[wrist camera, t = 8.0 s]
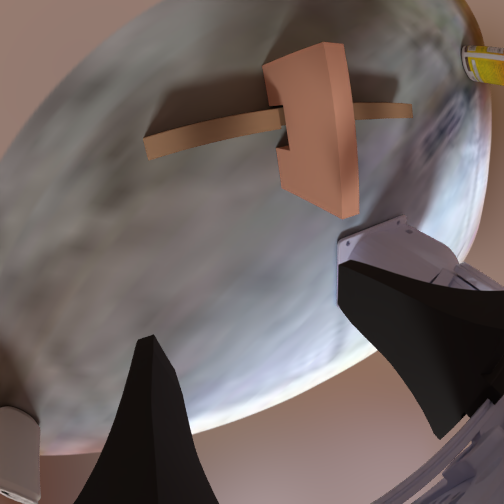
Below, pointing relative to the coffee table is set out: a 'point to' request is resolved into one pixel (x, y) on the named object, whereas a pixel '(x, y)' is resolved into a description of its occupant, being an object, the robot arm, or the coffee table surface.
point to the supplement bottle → (484, 64)
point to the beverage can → (19, 456)
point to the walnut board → (251, 126)
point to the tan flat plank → (317, 127)
